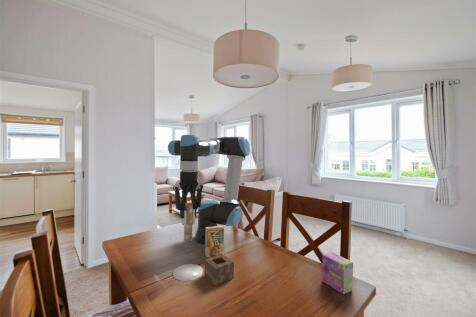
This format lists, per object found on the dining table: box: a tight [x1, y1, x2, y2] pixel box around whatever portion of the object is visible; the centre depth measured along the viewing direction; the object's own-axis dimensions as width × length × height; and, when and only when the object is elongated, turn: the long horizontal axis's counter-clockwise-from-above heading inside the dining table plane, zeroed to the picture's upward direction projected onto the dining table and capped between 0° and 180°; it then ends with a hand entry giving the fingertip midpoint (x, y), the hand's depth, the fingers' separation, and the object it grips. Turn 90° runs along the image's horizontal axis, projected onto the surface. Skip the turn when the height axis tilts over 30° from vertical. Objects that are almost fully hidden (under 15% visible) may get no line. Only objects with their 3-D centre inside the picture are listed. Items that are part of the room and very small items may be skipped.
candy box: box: [204, 225, 225, 258], centre depth 115 cm, size 9×4×15 cm, turn 110°
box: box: [321, 251, 354, 295], centre depth 93 cm, size 10×6×12 cm, turn 29°
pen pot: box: [203, 253, 235, 287], centre depth 96 cm, size 9×9×8 cm
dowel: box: [183, 202, 193, 243], centre depth 98 cm, size 4×4×16 cm
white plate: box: [172, 263, 204, 282], centre depth 99 cm, size 13×13×1 cm
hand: (188, 224), depth 98 cm, fingers closed on dowel, 3 cm apart
